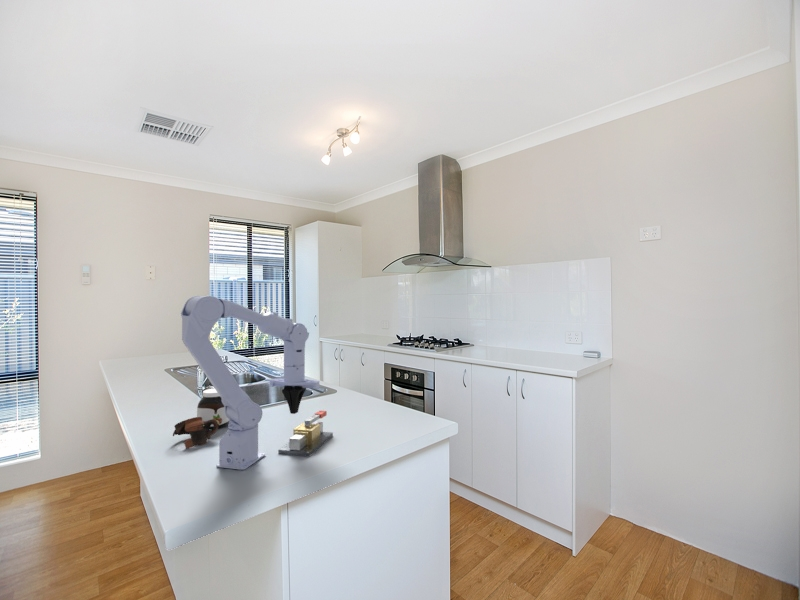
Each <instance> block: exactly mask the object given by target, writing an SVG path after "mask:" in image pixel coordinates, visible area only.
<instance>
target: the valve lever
mask: <svg viewBox="0 0 800 600" xmlns="http://www.w3.org/2000/svg"><path fill="white" fill-rule="evenodd" d="M326 416H327V410H319V411H317V412H314V414H313V415H312V416H310V417H308V418H307V419H305V420H304V423H305V427H309V426H310V424H311V423H313V422H317V421H318V420H319V419H323V418H324V417H326Z"/></svg>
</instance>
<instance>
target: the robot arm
mask: <svg viewBox="0 0 800 600" xmlns="http://www.w3.org/2000/svg"><path fill="white" fill-rule="evenodd" d="M180 316H181V320H182V321H181V322H182V323H181V340H182V343H183V344H184V346H185V347H186V348H187V350H188V351H189V353H190V354H191V356H192V358H194V361H195V362H196V363H197V364H198V366H199V368H200V370H202V372H203V374H204V375H205V376H206V378H207V379H208V381H209V382H210V383H211V385H212V386H213V389H216V391H217V392H218V394H219V395H220V397H221V398H222V403H223V405H224V407H225V414H226V416H227V418H228V419H230V421H229V422H228V423H227V425H228V428H227V431H226V432H225V434H223V435H222V436H221V437H220V439H219V449H218V450H219V451H218V452H219V454H218V456H219V457H218V458H219V463H217V464H215V465H216V467H217V468H224V469H232V470H233V469H235V470H243V471H245V470H246V469H247V468H249V467H250V466H252V465H253V464H254V463H256V462H258V460H260V459H262V458H263V457H265V456H266V453H265V452H259V423H260V421H261V420H262V417H263V409H262V407H261V405H259V404H258V403H256V402H254V401H253V400H252V399H251V398H250V396H249V395H248V394H247V392H245V391H244V390H243V389H242V387H240V385H239V383H238V382H237V380H236V378H235V377H234V376H233V374H232V372H231V371H230V369H229V368H228V366H227V365H226V364H225V362H224V361H223V359H222V357H221V356H220V354H219V353H218V351H217V350H216V348H215V346H214V345H213V344H212V342H211V341H210V339H209V338H210V337H209V336H210V335H211V332H212V329H213V328H214V326H215V325H216V324H217V323H218V321H219V320H220V319H227V318H233V319H236V320H240V321H243V322H244V323H249V324H252V325H254V326H257V328H258V330H259V332H260V333H262V334H265V335H269V336H271V337H274V338H277V339H280V340H282V341H283V378H271V379H269V387H271V388H272V387H283V389H282V390H281V392H282V395H283V396H284V398H285V400H286V402H287V405H288V408H289V414H290V415H291V414H292V415H295V414H297V413H299V408H300V404H301V401H302V399H303V396H304V395H305V392H306V391H307V389H313V390H318V389H319V388H320V380H314V379H313V380H312V379H306V378H305V377H306V376H305V373H306V371H305V363H306V362H305V360H306V359H305V358H306V357H305V354H306V353H305V352H306V351H305V350H306V349H305V348H306V343H307V340H308V339H309V336H310V332H308V328H307V327H306V325H305V324H303V323H299V322H294V321H293V320H294V319H293V318H285V317H282V316H280V315H279V312H276V311H272V312H270V311H268V312H265V313H263V314H262V313H259V312H257V311H255V310H253V309H250V308H248V307H246V306H244V305H241V304H239V303H236V302H234V301H232V300H228V299H224V298H218V297H216V296H215V295H214V296H213V295H205V296H203V295H202V296H201V295H194V296H192V297H190V298H188V299H187V300H186V302H185V303H184V305H183V307H182V310H181V311H180Z"/></svg>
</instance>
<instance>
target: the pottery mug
mask: <svg viewBox="0 0 800 600" xmlns="http://www.w3.org/2000/svg"><path fill="white" fill-rule="evenodd" d="M212 424H213V425H214V427H213V429H209V428H210V426H211V425H212ZM203 425H204V426H205V427H204V428H203ZM218 427H219V424H218V422H217V421H216V420H208V421H202V417H197V416H195V417H191V418H188V419H184V420H182V421H180V422H178V423H176V424H174V431H173V433H172V437H175V435H177V436H181V435H189V436H190V438H189V439H187V440H184V441H183V444H184V446H185V449H190V448H193V447H196V446H202V445H207V443H208V442H207V440H209V439H211V437H212V436H213V435H214V434H216V432H217V431H218V429H219V428H218Z"/></svg>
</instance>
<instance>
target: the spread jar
mask: <svg viewBox="0 0 800 600" xmlns="http://www.w3.org/2000/svg"><path fill="white" fill-rule="evenodd" d="M196 417H202V421H208V420H216V421H217V422H218V424H219V427H218V429H221V428H224V427H226V425H228V424H229V421H230V419H228V418H227V416H226V414H225V407H224V405H223V403H222V398H221V397H220V395H219V394H218V392H217V391H216V389H215V388H209V389H205V390H203V391H202V397H201V399H200V400H199V401H198V403H197V406H196ZM204 427H205V426H204V425H203V428H204ZM213 427H214V425H213V424H212V425H211V426H210V428H209V430H212V429H213Z"/></svg>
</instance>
